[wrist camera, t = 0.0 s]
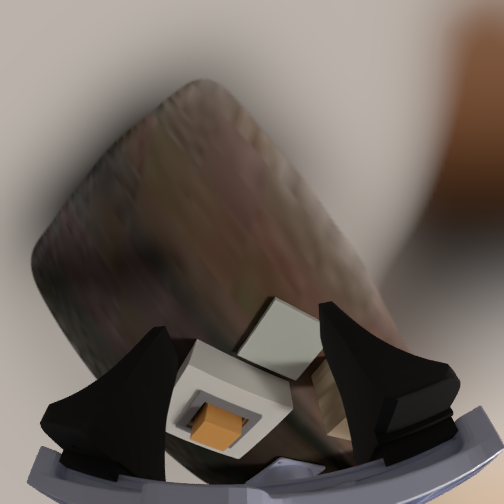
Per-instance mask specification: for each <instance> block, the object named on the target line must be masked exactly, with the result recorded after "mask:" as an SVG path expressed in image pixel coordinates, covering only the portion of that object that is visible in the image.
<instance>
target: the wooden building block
mask: <svg viewBox="0 0 504 504" xmlns="http://www.w3.org/2000/svg"><path fill="white" fill-rule="evenodd" d="M311 378H312V381H313V385H314V389H315V392H316V396H317V400H318V403H319V407H320V411H321V414H322V418H323V422H324V426H325V430H326V433H327V435H330V436H334V437H338V438H343V439H347V440H351V437H350V432H349V427H348V423H347V418H346V414H345V410H344V406H343V402H342V399H341V396H340V393H339V390H338V388H337V385H336V382H335V380H334V377H333V375H332V372H331V370H330V367H329V365H328V362H327V360H326V359H325V360H324V361H323V362H322V364H321V365H320V366H319V367H318V368H317V370H316V371H315V372H314V373H313V374H312V375H311Z"/></svg>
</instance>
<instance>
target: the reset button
mask: <svg viewBox="0 0 504 504" xmlns="http://www.w3.org/2000/svg"><path fill="white" fill-rule="evenodd" d="M241 431H242V417H240V416H238V415H235V414H233V413H230V412H228V411H225V410H223V409H220V408H218V407H215V406H213V405H211V404H208V403H205V404H204V405H203V407H202V408H201V409H200V411H199V412H198V413H197V414H196V416H195V417H194V422H193V426H192V430H191V434H190V439H191V440H193V441H196V442H198V443H201V444H204V445H206V446H209V447H212V448H215V449H217V450H220V451H225V450H226V449H227V448H228V447H229V446H230V445H231V444H232V443H233V442H234V441H235V440H236V439H237V438H238V437H239V436H240V435H241Z"/></svg>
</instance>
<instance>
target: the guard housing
mask: <svg viewBox="0 0 504 504" xmlns="http://www.w3.org/2000/svg"><path fill="white" fill-rule="evenodd" d="M204 402H206V403H208V404H211V405H213V406H215V407H218V408H220V409H223V410H225V411H228V412H230V413H233V414H235V415H238V416H240V417H243V418H244V419H243V420H242V431H241V435H240V436H239V437H238V438H237V439H236V440H235V441H234V442H233V443H232V444H231V445H230V446H229V447H228V448H227V449H226V450H225V451H220V450H217V449H215V448H212V447H209V446H206V445H204V444H201V443H198V442H196V441H193V440H191V439H190V434H191V430H192V426H193V422H194V417H195V416H196V414H197V413H196V412H197V411H198V410H199V409H200V407H201V406H202V405H203V403H204ZM292 410H293V404H292V398H291V391H290V385H289V381H286V380H284V379H282V378H279V377H277V376H274V375H272V374H270V373H267V372H265V371H263V370H260V369H258V368H256V367H254V366H251V365H249V364H247V363H245V362H243V361H241V360H238V359H236V358H234V357H232V356H230V355H228V354H226V353H224V352H222V351H220V350H218V349H216V348H214V347H212V346H210V345H208V344H206V343H204V342H202V341H200V340H198V339H197V340H196V342H195V344H194V345H193V347H192V349H191V350H190V352H189V354H188V355H187V357H186V359H185V360H184V362H183V364H182V365H181V367H180V369H179V371H178V372H177V376H176V381H175V385H174V389H173V393H172V397H171V401H170V406H169V410H168V415H167V422H166V432H168V433H170V434H172V435H175V436H177V437H179V438H182V439H184V440H187V441H189V442H191V443H194V444H197V445H199V446H202V447H204V448H207V449H210V450H213V451H216V452H219V453H221V454H224V455H228V456H231V457H234V458H237V459H239V458H241V457H242V456H243V455H244V454H245V453H247V452H248V451H249V450H250V449H251V448H252V447H253V446H255V445H256V444H257V443H258V442H259V441H260V440H261V439H262V438H263V437H265V436H266V435H267V434H268V433H269V432H270V431H271V430H272V429H273V428H274V427H275V426H276V425H277V424H278V423H279V422H280V421H281V420H282V419H284V418H285V417H286V416H287V415H288V414H289V413H290V412H291V411H292Z"/></svg>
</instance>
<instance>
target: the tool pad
mask: <svg viewBox="0 0 504 504" xmlns="http://www.w3.org/2000/svg"><path fill="white" fill-rule="evenodd" d="M322 348H323V347H322V343H321V339H320V322H319V320H318V319H316V318H314V317H312V316H310V315H308V314H306V313H305V312H303V311H301V310H299V309H297V308H295V307H293V306H291V305H290V304H288V303H286V302H284V301H282V300H280V299H278V298H276V297H275V298H274V299H273V301H272V302H271V304H270V305H269V307H268V308H267V310H266V311H265V313H264V314H263V316H262V317H261V319H260V320H259V321H258V323H257V324H256V326H255V327H254V329H253V330H252V332H251V333H250V335H249V336H248V338H247V339H246V340H245V342H244V343H243V345H242V346H241V348H240V349H239V350H238V355H239V356H241V357H243V358H245V359H247V360H249V361H252V362H254V363H256V364H258V365H260V366H263V367H265V368H267V369H269V370H272V371H274V372H276V373H279V374H281V375H283V376H286V377H288V378H291V379H293V380H297V379H298V377H299V376H300V375H301V374H302V373H303V372H304V370H305V369H306V368H307V367H308V366H309V364H310V363H311V362H312V361H313V360H314V358H315V357H316V356H317V355H318V353H319V352H320V351H321V350H322Z"/></svg>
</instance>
